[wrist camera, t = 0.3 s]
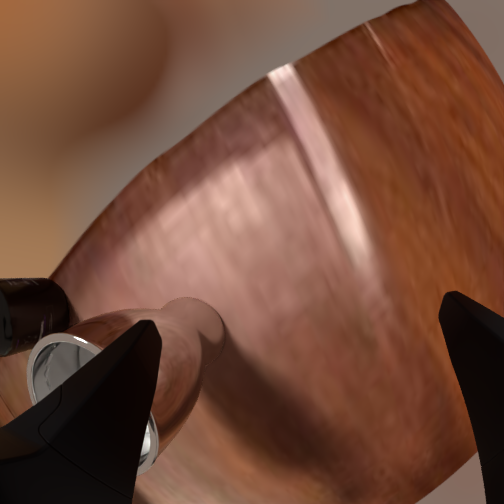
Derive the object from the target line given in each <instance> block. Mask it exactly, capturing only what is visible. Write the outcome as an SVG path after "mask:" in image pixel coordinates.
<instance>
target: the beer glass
mask: <svg viewBox="0 0 504 504" xmlns="http://www.w3.org/2000/svg"><path fill="white" fill-rule="evenodd" d="M142 319H150V320H153V321H154V322H155V324H156V327H157V329H158V331H159V334H160V336H161V338H162V351H161V358H160V365H159V372H158V380H157V386H156V391H155V395H154V399H153V403H152V407H151V411H150V416H149V420H148V424H147V429H146V433H145V438H144V442H143V447H142V452H141V456H140V461H139V466H138V471H137V476H139V475H141V474H143V473H145V472H146V471H148V470H149V469H150V468H151V467H152V465H153V464H154V462H155V461H156V459H157V458H158V457H159V455H160V454H161V453H162V452H163V451H164V450H165V449H166V447H167V446H168V445H169V444H170V443H171V441H172V440H173V439H174V438H175V437H176V435H177V434H178V433H179V431H180V430H181V428H182V427H183V425H184V424H185V422H186V421H187V419H188V418H189V416H190V414H191V412H192V410H193V408H194V406H195V405H196V402H197V400H198V397H199V394H200V391H201V388H202V384H203V379H204V374H205V369H206V366H207V365H208V364H210V363H211V362H213V361H214V360H215V359H216V358H217V357H218V355H219V354H220V352H221V350H222V348H223V345H224V340H225V332H224V326H223V323H222V321H221V319H220V317H219V315H218V314H217V312H216V311H215V310H214V309H213V308H212V307H211V306H210V305H208V304H207V303H205V302H204V301H202V300H199V299H196V298H192V297H181V298H176V299H174V300H172V301H170V302H168V303H167V304H165V305H164V306H163V307H162V308H161V309H147V308H137V309H123V310H118V311H113V312H109V313H104V314H101V315H98V316H95V317H92V318H89V319H87V320H84V321H82V322H79V323H77V324H75V325H72V326H70V327H68V328H66V329H64V330H62V331H59V332H57V333H53V334H50V335H47V336H45V337H43V338H42V339H40V340H39V341H38V342H37V343H36V344H35V346H34V347H33V349H32V351H31V353H30V356H29V359H28V364H27V384H28V390H29V394H30V398H31V401H32V404H33V406H34V405H35V404H36V403H38V402H39V401H41V400H42V399H43V398H44V397H46V396H47V395H48V394H49V393H51V392H52V391H53V390H54V389H56V388H57V387H58V386H59V385H60V384H63V382H64V381H65V380H67V379H68V378H69V377H70V376H71V375H73V374H74V373H75V372H76V371H77V370H79V369H80V368H81V367H82V366H84V365H85V364H86V363H87V362H88V361H90V360H91V359H92V358H93V357H95V356H96V355H97V354H98V353H99V352H101V351H102V350H103V349H104V348H106V347H107V346H108V345H109V344H111V343H112V342H113V341H114V340H116V339H117V338H118V337H119V336H120V335H122V334H123V333H124V332H125V331H127V330H128V329H129V328H130V327H132V326H133V325H134V324H135V323H137V322H138V321H139V320H142Z"/></svg>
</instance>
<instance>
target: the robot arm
mask: <svg viewBox="0 0 504 504" xmlns="http://www.w3.org/2000/svg"><path fill="white" fill-rule="evenodd" d="M439 322H440V325H441V328H442V332H443V335H444V338H445V342H446V345H447V349H448V353H449V356H450V359H451V362H452V365H453V368H454V371H455V373H456V376H457V379H458V382H459V385H460V388H461V391H462V394H463V397H464V400H465V404H466V407H467V410H468V414H469V417H470V421H471V425H472V428H473V432H474V436H475V441H476V445H477V449H478V453H479V459H480V464H481V466H482V467H481V470H482V475H483V481H484V488H485V496H486V504H504V318H503V317H501V316H500V315H498V314H496V313H495V312H493V311H491V310H490V309H488V308H486V307H485V306H483V305H481V304H479V303H478V302H476V301H474V300H472V299H471V298H469V297H467V296H465V295H463V294H462V293H460V292H458V291H451V292H447V293H445V295H444V297H443V300H442V304H441V307H440V310H439ZM161 351H162V338H161V336H160V334H159V331H158V329H157V327H156V324H155V322H154V321H153V320H150V319H142V320H139V321H138V322H137V323H135V324H134V325H133V326H132V327H130V328H129V329H128V330H127V331H125V332H124V333H123V334H122V335H120V336H119V337H118V338H117V339H116V340H114V341H113V342H112V343H111V344H109V345H108V346H107V347H106V348H104V349H103V350H102V351H101V352H99V353H98V354H97V355H96V356H95V357H93V358H92V359H91V360H90V361H88V362H87V363H86V364H85V365H84V366H82V367H81V368H80V369H79V370H77V371H76V372H75V373H74V374H73V375H71V376H70V377H69V378H68V379H67V380H65V381H64V382H63V384H60V385H59V386H58V387H57V388H56V389H54V390H53V391H52V392H51V393H49V394H48V395H47V396H46V397H44V398H43V399H42V400H41V401H39V402H38V403H36V404H35V405H34V406H32V407H31V408H29V409H28V410H27V411H25V412H24V413H22V414H21V415H19V416H18V417H17V418H15V419H14V420H12V421H11V422H9V423H8V424H6V425H5V426H3V427H1V428H0V504H132V498H133V493H134V487H135V482H136V477H137V471H138V466H139V461H140V456H141V452H142V447H143V442H144V438H145V433H146V429H147V424H148V420H149V416H150V411H151V407H152V403H153V399H154V395H155V391H156V386H157V380H158V372H159V365H160V358H161Z"/></svg>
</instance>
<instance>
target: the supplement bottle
mask: <svg viewBox="0 0 504 504" xmlns="http://www.w3.org/2000/svg"><path fill="white" fill-rule="evenodd" d="M68 322H69V310H68V305H67V301H66V298H65V296H64V294H63V292H62V290H61V289H60V287H59V286H58V285H57V284H56V283H55V282H54V281H52V280H50V279H47V278H3V279H2V278H1V279H0V357H6V356H10V355H13V354H17V353H20V352H23V351H27V350H30V349H33V347H34V346H35V344H36V343H37V342H38V341H39V340H40V339H42V338H43V337H45V336H47V335H50V334H53V333H57V332H59V331H62V330H64V329H66V328H67V327H68Z"/></svg>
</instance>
